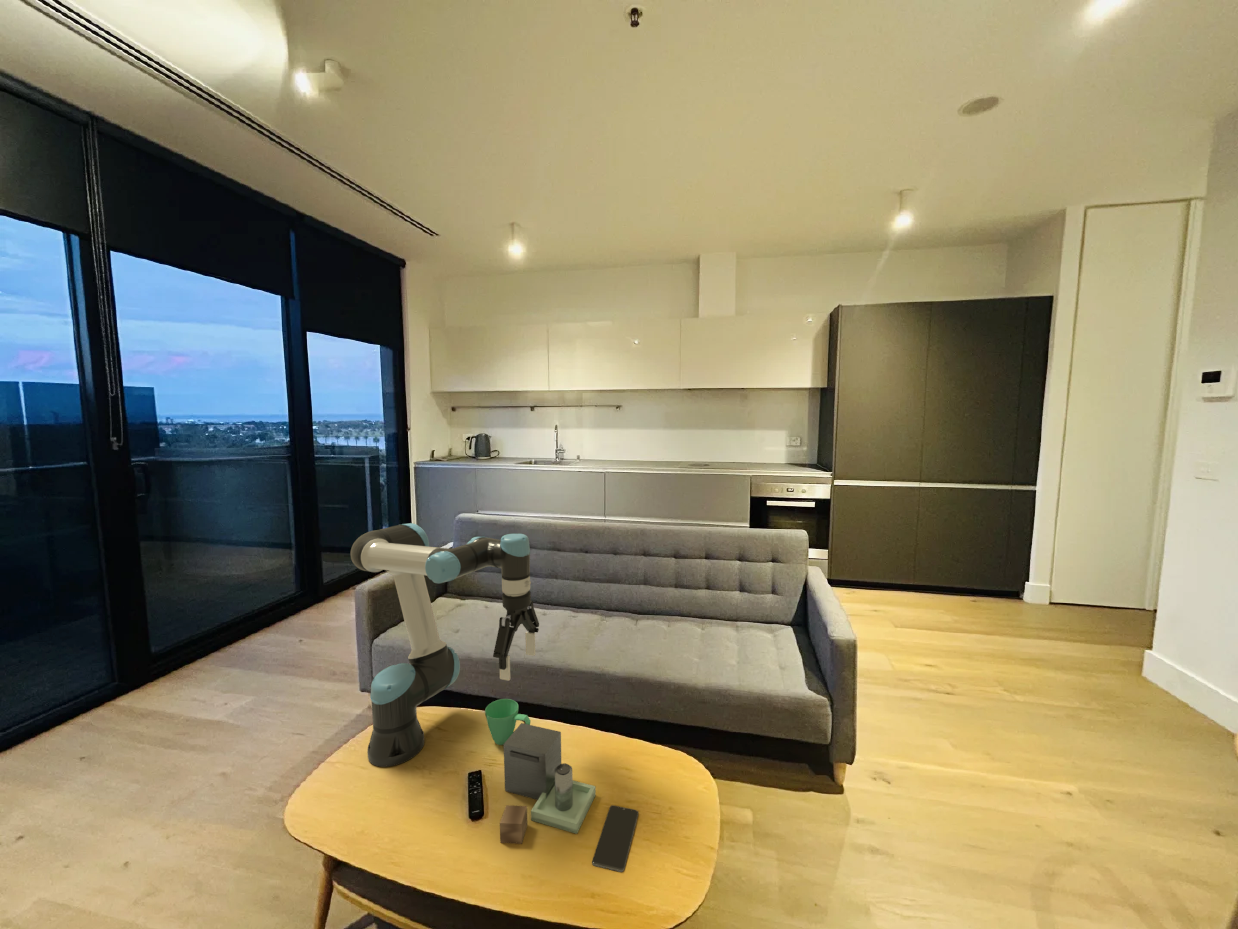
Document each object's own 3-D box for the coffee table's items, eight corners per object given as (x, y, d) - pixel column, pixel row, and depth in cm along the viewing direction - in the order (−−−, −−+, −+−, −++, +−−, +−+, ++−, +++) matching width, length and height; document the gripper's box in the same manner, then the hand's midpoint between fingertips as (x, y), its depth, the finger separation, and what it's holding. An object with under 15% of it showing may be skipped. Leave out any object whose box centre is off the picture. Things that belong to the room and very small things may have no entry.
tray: (531, 820, 115) (531, 811, 115) (553, 784, 126) (553, 775, 126) (576, 834, 111) (576, 824, 111) (595, 795, 122) (595, 786, 122)
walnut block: (500, 843, 109) (499, 823, 108) (506, 824, 114) (506, 805, 113) (521, 844, 109) (521, 824, 108) (527, 825, 114) (526, 806, 113)
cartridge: (552, 808, 117) (551, 772, 116) (559, 795, 121) (559, 760, 120) (568, 813, 116) (567, 776, 115) (575, 799, 120) (575, 764, 119)
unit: (504, 791, 124) (502, 745, 122) (523, 765, 133) (522, 721, 132) (545, 803, 120) (544, 755, 119) (562, 775, 129) (561, 730, 128)
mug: (479, 746, 141) (477, 714, 140) (499, 726, 150) (498, 696, 149) (521, 758, 136) (520, 726, 135) (539, 737, 145) (538, 706, 144)
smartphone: (590, 863, 103) (610, 804, 119) (591, 867, 103) (610, 808, 119) (623, 871, 101) (639, 810, 117) (623, 875, 101) (639, 814, 117)
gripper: (503, 611, 116) (505, 693, 118) (549, 578, 139) (551, 647, 141) (477, 607, 118) (480, 688, 120) (527, 575, 142) (528, 643, 144)
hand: (518, 666), depth 131 cm, fingers open, 13 cm apart
